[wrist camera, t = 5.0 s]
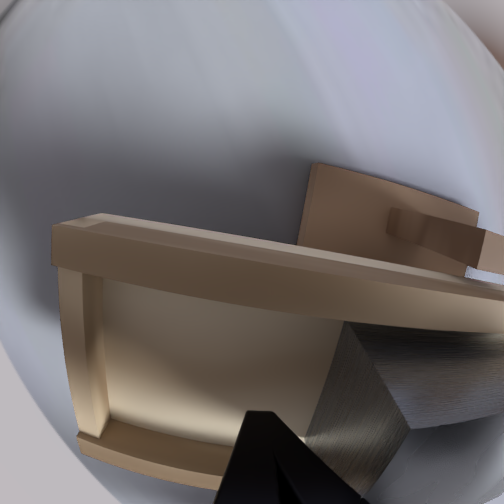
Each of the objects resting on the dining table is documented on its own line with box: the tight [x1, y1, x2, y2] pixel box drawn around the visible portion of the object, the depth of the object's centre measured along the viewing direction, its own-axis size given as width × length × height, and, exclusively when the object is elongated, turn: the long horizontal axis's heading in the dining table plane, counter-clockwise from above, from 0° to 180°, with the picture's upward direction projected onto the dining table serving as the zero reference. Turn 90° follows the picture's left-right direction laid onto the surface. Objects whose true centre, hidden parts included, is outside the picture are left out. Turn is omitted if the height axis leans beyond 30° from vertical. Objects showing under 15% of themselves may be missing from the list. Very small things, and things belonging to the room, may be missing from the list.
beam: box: [51, 213, 504, 490], centre depth 9 cm, size 8×25×3 cm, turn 80°
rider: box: [304, 321, 504, 504], centre depth 6 cm, size 5×7×4 cm
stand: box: [296, 163, 504, 277], centre depth 12 cm, size 14×10×7 cm
